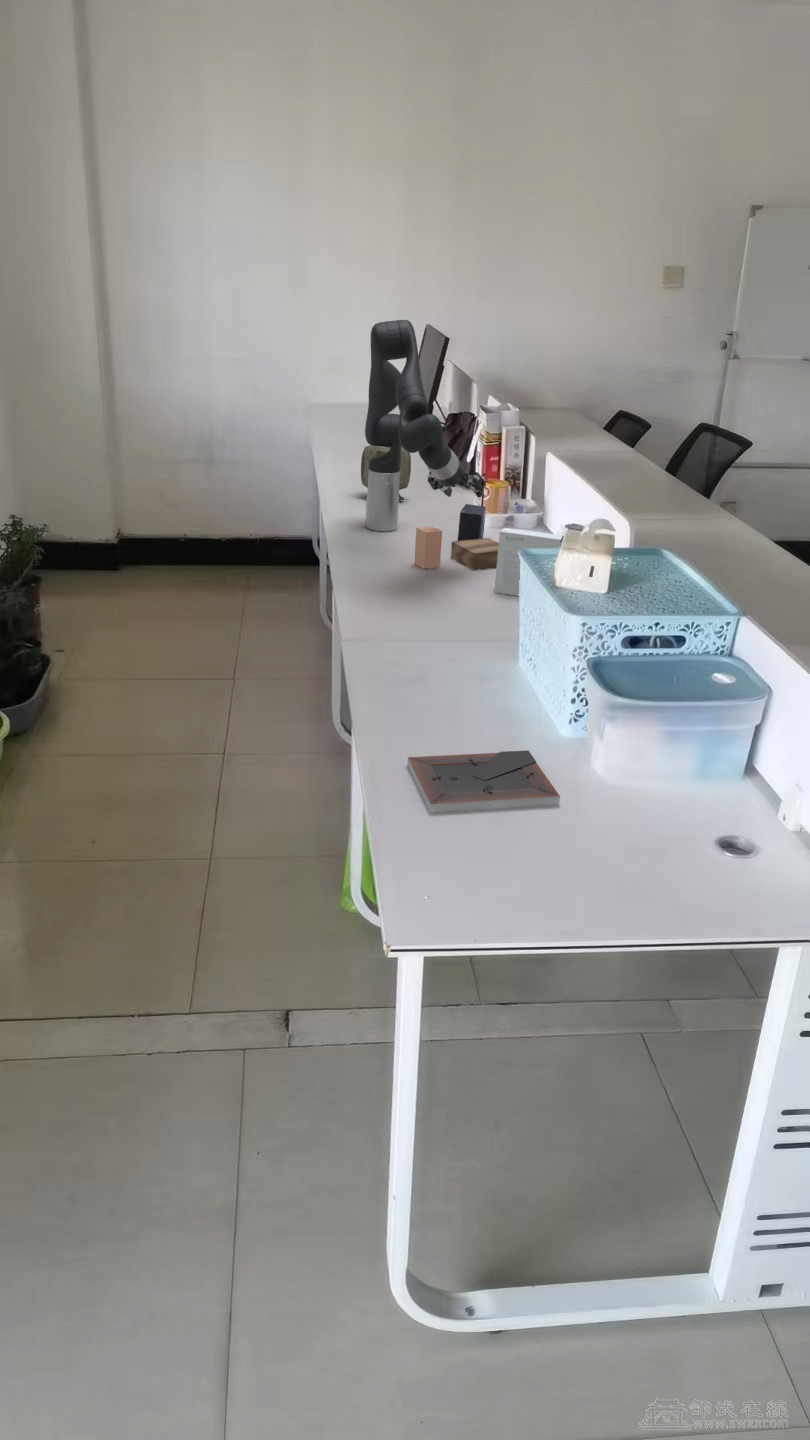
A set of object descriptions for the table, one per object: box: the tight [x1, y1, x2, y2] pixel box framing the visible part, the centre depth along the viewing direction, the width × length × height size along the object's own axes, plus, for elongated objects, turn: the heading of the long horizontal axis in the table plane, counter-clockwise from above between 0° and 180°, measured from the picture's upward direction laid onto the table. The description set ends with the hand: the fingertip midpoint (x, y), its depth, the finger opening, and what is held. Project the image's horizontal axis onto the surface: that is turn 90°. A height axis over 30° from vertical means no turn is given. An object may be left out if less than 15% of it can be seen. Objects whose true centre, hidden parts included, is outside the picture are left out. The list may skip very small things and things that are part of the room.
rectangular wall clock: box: [406, 750, 561, 814], centre depth 184 cm, size 16×2×22 cm
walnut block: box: [450, 537, 499, 571], centre depth 302 cm, size 12×12×5 cm
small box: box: [457, 503, 487, 541], centre depth 316 cm, size 11×6×10 cm, turn 168°
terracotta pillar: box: [413, 525, 443, 570], centre depth 294 cm, size 5×5×10 cm
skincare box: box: [493, 527, 564, 597], centre depth 275 cm, size 21×5×16 cm, turn 71°
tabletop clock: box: [360, 444, 412, 500], centre depth 355 cm, size 14×9×25 cm, turn 58°
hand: (465, 493), depth 292 cm, fingers open, 8 cm apart
